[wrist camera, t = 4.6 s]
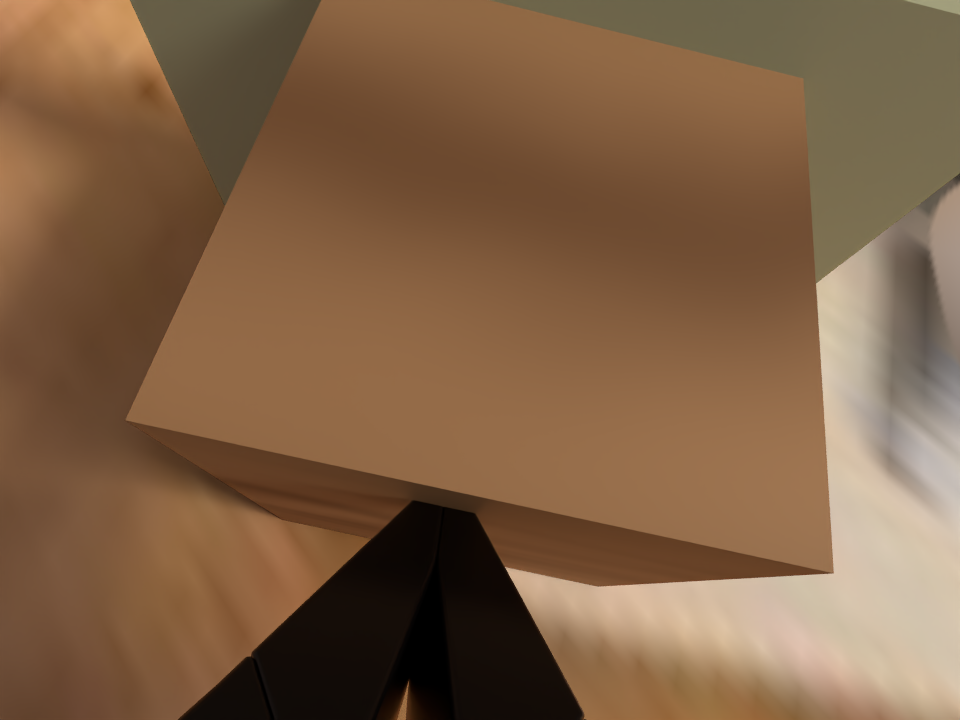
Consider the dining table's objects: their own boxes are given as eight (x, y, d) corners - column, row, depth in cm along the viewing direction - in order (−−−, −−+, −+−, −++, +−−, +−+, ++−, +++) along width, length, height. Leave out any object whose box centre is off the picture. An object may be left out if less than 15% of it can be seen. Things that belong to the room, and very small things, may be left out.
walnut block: (597, 586, 14) (834, 573, 6) (282, 519, 14) (125, 420, 6) (624, 311, 17) (803, 78, 10) (369, 252, 17) (338, -37, 9)
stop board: (743, 338, 18) (1115, 54, 8) (231, 220, 17) (26, -225, 8) (743, 283, 18) (1082, -30, 9) (254, 169, 18) (93, -289, 9)
